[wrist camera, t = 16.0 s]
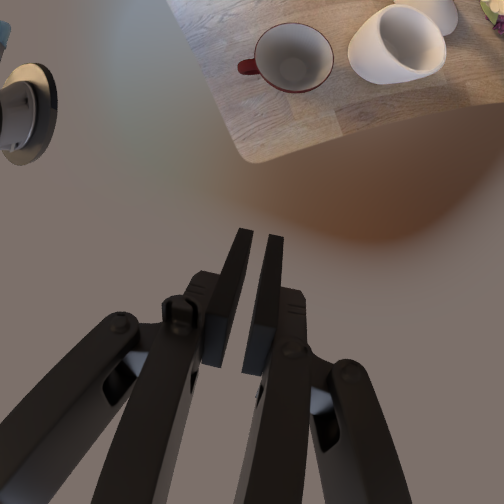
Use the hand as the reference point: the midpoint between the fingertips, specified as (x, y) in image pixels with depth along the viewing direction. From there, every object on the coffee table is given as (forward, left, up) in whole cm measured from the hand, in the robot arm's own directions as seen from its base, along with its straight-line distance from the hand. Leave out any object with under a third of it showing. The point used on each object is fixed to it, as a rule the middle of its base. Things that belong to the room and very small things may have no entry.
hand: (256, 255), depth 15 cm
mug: (-6, +12, -27) cm, 30 cm away
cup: (+3, +21, -27) cm, 34 cm away
